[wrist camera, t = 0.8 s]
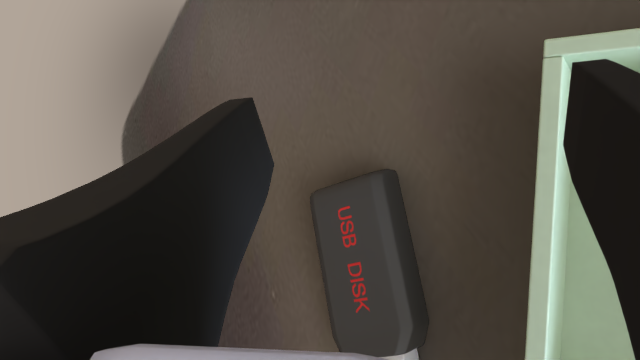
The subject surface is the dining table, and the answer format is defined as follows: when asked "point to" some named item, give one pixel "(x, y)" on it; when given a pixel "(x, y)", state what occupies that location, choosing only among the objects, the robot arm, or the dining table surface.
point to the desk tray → (571, 224)
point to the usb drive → (370, 267)
